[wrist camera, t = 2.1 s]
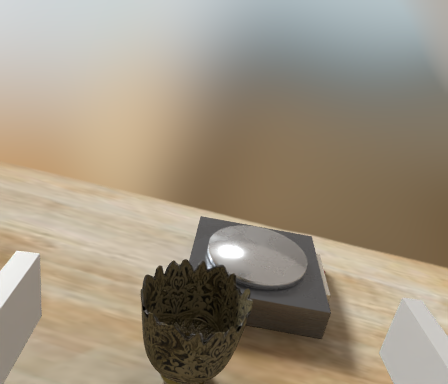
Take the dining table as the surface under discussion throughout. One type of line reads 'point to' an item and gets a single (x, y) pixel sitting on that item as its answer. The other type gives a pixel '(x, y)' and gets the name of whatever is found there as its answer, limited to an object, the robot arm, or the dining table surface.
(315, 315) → the kitchen scale
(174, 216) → the dining table surface
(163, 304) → the cup
